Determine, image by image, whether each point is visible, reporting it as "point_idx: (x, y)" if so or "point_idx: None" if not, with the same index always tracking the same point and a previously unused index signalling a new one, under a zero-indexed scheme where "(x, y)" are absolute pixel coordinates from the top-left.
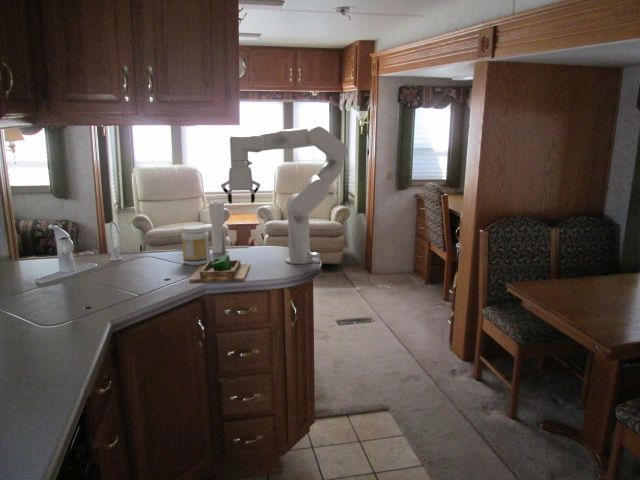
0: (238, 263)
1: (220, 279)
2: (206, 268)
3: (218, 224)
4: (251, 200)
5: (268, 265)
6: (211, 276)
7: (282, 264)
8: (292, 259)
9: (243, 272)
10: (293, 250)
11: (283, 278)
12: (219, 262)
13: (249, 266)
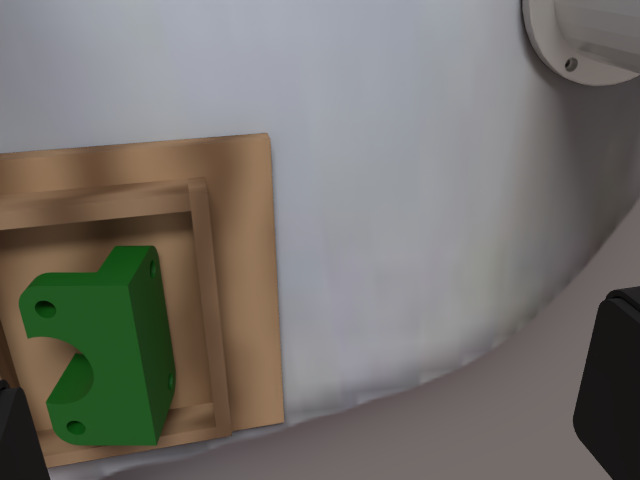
0: (216, 284)
1: None
2: (2, 364)
3: None
4: (619, 476)
5: (394, 96)
6: None
7: (489, 70)
8: (575, 47)
9: (261, 330)
10: (630, 66)
11: (475, 352)
12: (123, 444)
13: (271, 177)
